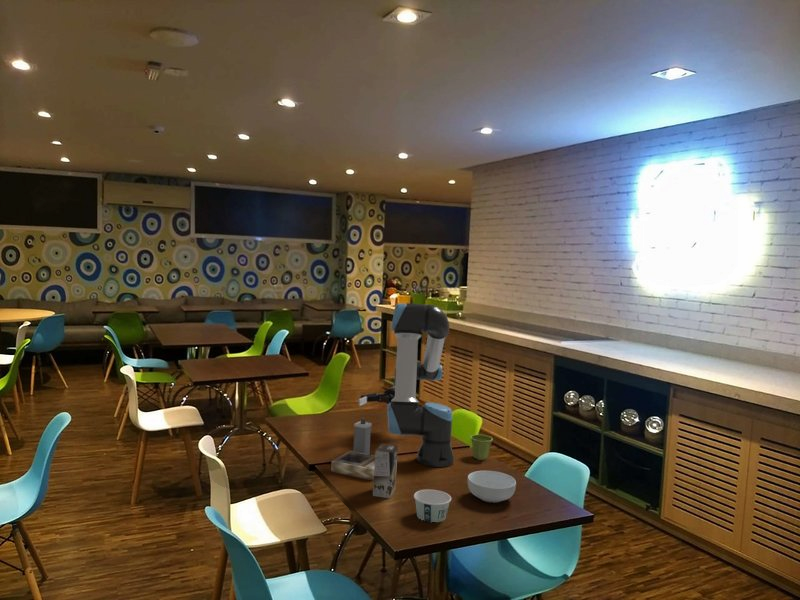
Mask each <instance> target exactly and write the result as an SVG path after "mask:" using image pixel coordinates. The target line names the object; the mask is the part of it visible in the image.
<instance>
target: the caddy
mask: <svg viewBox="0 0 800 600" xmlns="http://www.w3.org/2000/svg"><path fill="white" fill-rule="evenodd" d="M330 464H331V465H330V466H331V468H330V472H331V473H335V474H341V475H345V476H350V477H355V478H360V479H364V480H369V481H373V482H374V468H375V454H374V455H373V454H370V453H369V454H364V453H359V452H354V451H353V450H349V451H347V452H345V453H343V454H342V455H340V456H338V457H336V458H334V459H332V460H331V463H330Z"/></svg>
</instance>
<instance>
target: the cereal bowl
mask: <svg viewBox="0 0 800 600" xmlns="http://www.w3.org/2000/svg"><path fill="white" fill-rule="evenodd" d="M466 481H467V486H468V490H469V492H471V494H472V495H474V496H475V497H476V498H479V499H480V500H481V501H483V502H485V503H491V502H492V503H493V504H494V503H496V504H497V503H500V502H503V501H506V500H508V499H510V498H512V497H513V495H514V493H515V492H516V488H517V482H516V479H515V478H514V477H513V476H511V475H509V474H507V473H504V472H501V471H495V470H477V471H473V472H471V473H469V474H468V475H467V480H466Z"/></svg>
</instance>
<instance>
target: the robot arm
mask: <svg viewBox="0 0 800 600" xmlns="http://www.w3.org/2000/svg"><path fill="white" fill-rule="evenodd" d="M393 311H394V312H393V317H392V320H391V321H392V322H391V327H390V330H391V331H392V332H394V333H393V335H394V336H395V338H396V339H397V344H396V345H397V346H396V360H395V367H394V381H393V382H394V385H393V386H392V387H389V388H387V389H386V390H384V392H383V393H378V392H374V393H368V394H361V395H360V398H359V399H358V406H359V407H361V406H362V405H365V404H367V403H369V402H370V403H372V402H377V403H386V405H387V406H386V409H387V410H386V411H387V413H386V415H387V424H388V425H387V426H388V432H389V433H390V434H392V435H399V436H420V437H421V436H422V440H421V444H420V446H419V448H418V451H417V455H416V461H417V462H418V463H419V464H421V465H423V466H428V467H433V468H444V467H449V466H450V467H451V466H452V465H454V462H455V455H454V453H453V448H452V444H451V443H452V442H451V440H452V426H453V425H452V424H453V411H452V408H450V407H448V406H447V405H444V404H441V403H438V402H437V403H436V402H425V403H424V405H423V406H419V405H420V401H419V400H418V399H417V398H416V397H417V395H416V394H417V391H416V390H417V380H420V381H421V380H422V381H423V380H424V381H433V382H434V381H441V380H442V378H443V365H442V364H441V358H442V355H443V350H444V345H445V340H446V337H448V335H449V332H450V322H449V319H448V317H447V315H446V313H445V312H444V311H443V310H442V309H441V308H440V307H438V306H436V305H433V304H424V303H423V304H421V303H411V302H408V303H407V302H406V303H405V302H404V303H397V304H396V305H395V306H394V310H393ZM423 333H427V339H426V340H427V341H426V344H425V350H424V357H423V362H422V363H418V346H419V339H421V337H422V336H423Z"/></svg>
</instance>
